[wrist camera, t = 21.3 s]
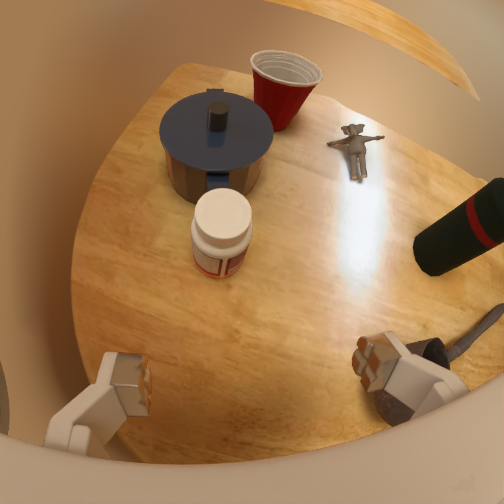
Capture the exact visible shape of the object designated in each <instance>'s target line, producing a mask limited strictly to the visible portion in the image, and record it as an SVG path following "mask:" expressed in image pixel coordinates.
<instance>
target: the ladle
mask: <svg viewBox="0 0 504 504" xmlns="http://www.w3.org/2000/svg"><path fill="white" fill-rule="evenodd" d="M503 313H504V303H502V304H500V305H498V306H496V307H495V308H494V309H493V310H492V311H491V312H490V313H489V314H488V315H487V316H486V317H485V319H484V320H483V321H482V322H481V323H480V324H479V325H478V326H477V327H476V328H475V329H474V330H473V331H471V332H470V333H469V334H467V335H466V336H464V337H462V338H461V339H460V340H459V341H458V342H456V343H455V344H454V345H453V346H452V347H451V348H450V349H449V350H446V349H445V346H444V344H443V343H442V341H441V340H440V339H439V338H437V337H436V338H431V339H427V340H423V341H419V342H414V343H410V344H407V345H405V346H406V348H407V349H408V350H409V351H410V353H411V354H416V355H418V356H420V357H422V358H424V359H427V360H429V361H431V362H433V363H435V364H437V365H439V366H441V367H444V368H446V369H448V370H450V364H449V363H450V362H452V361H453V360H454V359H456V358H457V357H459V356H460V355H461V354H463V353H464V352H465V351H466V350H467V349H468V348H469V347H470V346H471V344H472V343H473V342H474V341H475V340H476V339H477V338H478V337H479V336H480V335H481V334H482V333H483V332H485V331H486V330H487V329H488V328H489V327H490V326H491V325H493V324H494V323H495V322H496V321H497V320H498V319H499V318H500V317H501V316H502V314H503ZM374 399H375V403H376V407H377V410H378V412H379V414H380V415H381V417H382V418H383V419H384V420H385V421H386V422H387V423H388V424H389V425H391V426H393V427H394V426H397V425H399V424H402V423H404V422H407V421H409V420H410V418H411V417H412V416H413V414H414V413H415V411H414V410H412V409H411V408H410V407H408V406H407V405H405V404H404V403H402V402H401V401H399V400H398V399H397V398H395V397H394V396H392V395H391V394H389V393H388V392H387V391H385V390H384V389H381V390H377V391H374Z"/></svg>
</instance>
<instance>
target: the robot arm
mask: <svg viewBox="0 0 504 504" xmlns="http://www.w3.org/2000/svg"><path fill="white" fill-rule="evenodd" d="M357 346H358V349H357V350H356V351H355V352H354V353H353V357H352V366H353V369H354V371H355V373H356V374H357V375H359V376H361V381H360V382H361V384H362V385H363V387H364V389H365V390H366V392H367V393H368V392H373V391H377V390H381V389H384V390H385V391H387V392H388V393H389V394H391V395H392V396H394V397H395V398H397V399H398V400H399V401H401V402H402V403H404V404H405V405H407V406H408V407H410V408H411V409H412V410H414V411H415V413H414V414H413V416H412V417H411V418H410V420H409V421H407V422H404V423H402V424H399V425H397V426H394V427H391V428H389V429H386V430H383V431H380V432H377V433H374V434H371V435H368V436H365V437H362V438H358V439H355V440H352V441H348V442H344V443H341V444H337V445H333V446H329V447H325V448H321V449H316V450H312V451H307V452H302V453H297V454H292V455H286V456H280V457H274V458H267V459H260V460H252V461H242V462H231V463H217V464H151V463H136V462H125V461H116V460H112V459H111V457H110V456H109V454H108V453H107V452H106V450H105V449H104V446H105V445H106V444H107V443H108V441H109V440H110V439H111V438H112V436H113V435H114V434H115V433H116V431H117V430H118V429H119V428H120V426H121V425H122V424H123V423H124V421H125V420H126V419H127V416H131V417H150V406H151V402H150V399H149V395H150V394H151V393H152V377H151V372H150V369H149V368H148V367H147V362H148V360H147V357H146V354H144V353H125V352H107V351H106V352H105V354H104V355H103V359H102V362H101V365H100V369H99V372H98V376H97V379H96V383H95V384H91V385H90V386H88V387H87V388H86V389H85V390H84V391H83V392H81V393H80V394H79V395H78V396H77V397H75V398H74V399H73V400H72V401H71V402H69V403H68V404H67V405H66V406H65V407H64V408H62V409H61V410H60V411H59V412H58V413H56V414H55V415H54V416H53V417H52V418H51V419H50V422H49V426H48V429H47V432H46V436H45V440H44V443H43V446H40V445H36V444H32V443H29V442H26V441H23V440H20V439H17V438H14V437H11V436H8V435H5V434H2V433H0V504H504V371H503V372H502V373H500V374H499V375H497V376H495V377H494V378H492V379H491V380H489V381H487V382H486V383H484V384H482V385H481V386H479V387H477V388H475V389H474V390H472V391H470V390H469V388H468V387H467V386H466V385H465V383H464V382H463V381H462V380H461V379H460V377H459V376H458V375H457V374H456V373H454V372H452V371H450V370H448V369H446V368H444V367H441V366H439V365H437V364H435V363H433V362H431V361H429V360H427V359H424V358H422V357H420V356H418V355H416V354H411V353H410V351H409V350H408V349H407V348H406V346H405V345H404V344H403V343H402V341H401V340H400V339H399V338H398V337H397V335H396V334H395V333H394V332H392V331H388V332H383V333H378V334H373V335H368V336H362V337H360V338H359V339H358V342H357Z"/></svg>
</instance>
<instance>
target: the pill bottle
mask: <svg viewBox="0 0 504 504" xmlns="http://www.w3.org/2000/svg"><path fill="white" fill-rule="evenodd" d="M251 220H252V209H251V206H250V204H249V202H248V201H247V199H246V198H245V197H244V196H243V195H242V194H240V193H239V192H237V191H234V190H232V189H227V188H219V189H214V190H211V191H209V192H207V193H205V194H204V195H203V196H202V197H201V198H200V199H199V201H198V202H197V204H196V207H195V215H194V217H193V220H192V223H191V238H192V248H193V256H194V260H195V263H196V265H197V267H198V268H199V269H200V270H201V271H202V272H203V273H204V274H206V275H208V276H211V277H215V278H222V277H227V276H230V275H231V274H233V273H234V272H236V271H237V270H238V268H239V267H240V266H241V264H242V261H243V259H244V256H245V254H246V251H247V248H248V246H249V243H250V241H251V237H252V222H251Z"/></svg>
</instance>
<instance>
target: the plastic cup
mask: <svg viewBox="0 0 504 504" xmlns="http://www.w3.org/2000/svg"><path fill="white" fill-rule="evenodd" d="M250 64H251V66H252V68H253V78H254V103H256V104H257V105H259V106H260V107H261V108H262V109H263V110H264V111H265V112H266V113H267V115H268V116H269V118H270V120H271V122H272V125H273V131H280V130H283V129H285V128H286V127H287V126H288V125H289V123H290V122H291V120H292V119H293V117H294V116H295V115H296V114H297V112H298V110H299V109H300V107H301V106H302V104H303V103H304V101H305V100H306V98H307V96H308V95H309V93H310V92H311V91H312V89H313V88H314V87H315V86H316V85H317V84H318V83H320V82H321V81H322V80H323V72H322V71H321V69H320V68H319V67H318V65H316V64H315V63H313V62H312V61H310V60H309V59H307V58H304V57H302V56H300V55H297V54H294V53H290V52H286V51H279V50H266V51H259V52H257V53H255V54H253V55H252V56H251V59H250Z"/></svg>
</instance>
